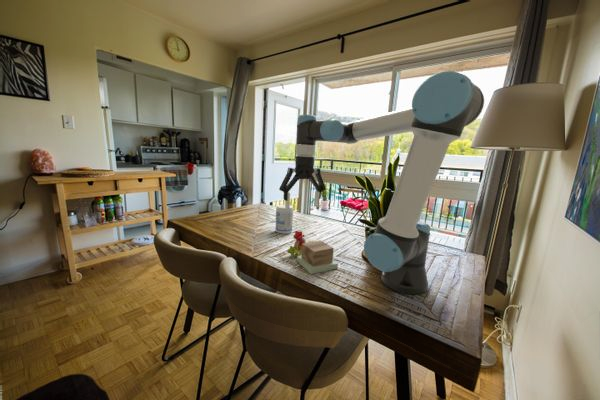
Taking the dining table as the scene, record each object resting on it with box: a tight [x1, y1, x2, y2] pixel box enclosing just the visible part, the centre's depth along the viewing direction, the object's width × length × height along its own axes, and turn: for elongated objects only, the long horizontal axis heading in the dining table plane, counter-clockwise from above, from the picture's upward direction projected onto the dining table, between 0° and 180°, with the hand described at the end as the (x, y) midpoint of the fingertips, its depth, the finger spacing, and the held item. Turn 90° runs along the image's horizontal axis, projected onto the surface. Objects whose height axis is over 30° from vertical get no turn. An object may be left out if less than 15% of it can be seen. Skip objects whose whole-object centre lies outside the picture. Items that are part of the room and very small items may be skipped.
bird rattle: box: [287, 230, 306, 256], centre depth 107 cm, size 6×11×9 cm
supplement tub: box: [275, 204, 294, 235], centre depth 136 cm, size 10×10×15 cm
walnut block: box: [301, 240, 334, 267], centre depth 97 cm, size 9×9×6 cm
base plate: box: [296, 255, 339, 275], centre depth 98 cm, size 12×12×2 cm
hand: (302, 207), depth 102 cm, fingers open, 13 cm apart
